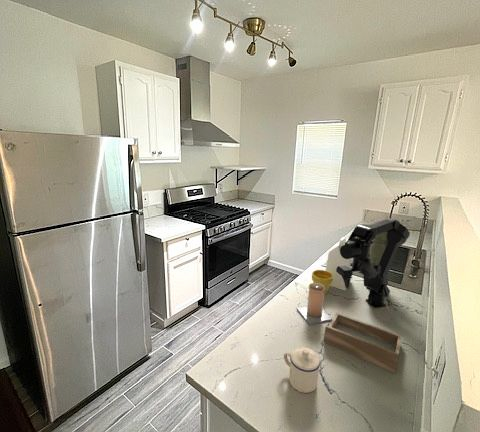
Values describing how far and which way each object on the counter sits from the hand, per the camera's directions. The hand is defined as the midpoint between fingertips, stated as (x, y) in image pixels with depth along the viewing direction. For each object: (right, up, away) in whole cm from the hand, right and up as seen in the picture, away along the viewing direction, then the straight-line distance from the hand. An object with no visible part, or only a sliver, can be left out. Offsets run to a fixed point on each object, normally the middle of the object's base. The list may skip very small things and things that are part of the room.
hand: (356, 287), depth 115 cm
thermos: (+22, -7, +28) cm, 36 cm away
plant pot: (-9, -8, +21) cm, 24 cm away
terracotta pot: (-18, -12, +1) cm, 22 cm away
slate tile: (-18, -13, +1) cm, 22 cm away
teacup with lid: (-32, -21, -31) cm, 49 cm away
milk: (+3, -6, +30) cm, 31 cm away
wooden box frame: (-5, -17, -15) cm, 24 cm away
